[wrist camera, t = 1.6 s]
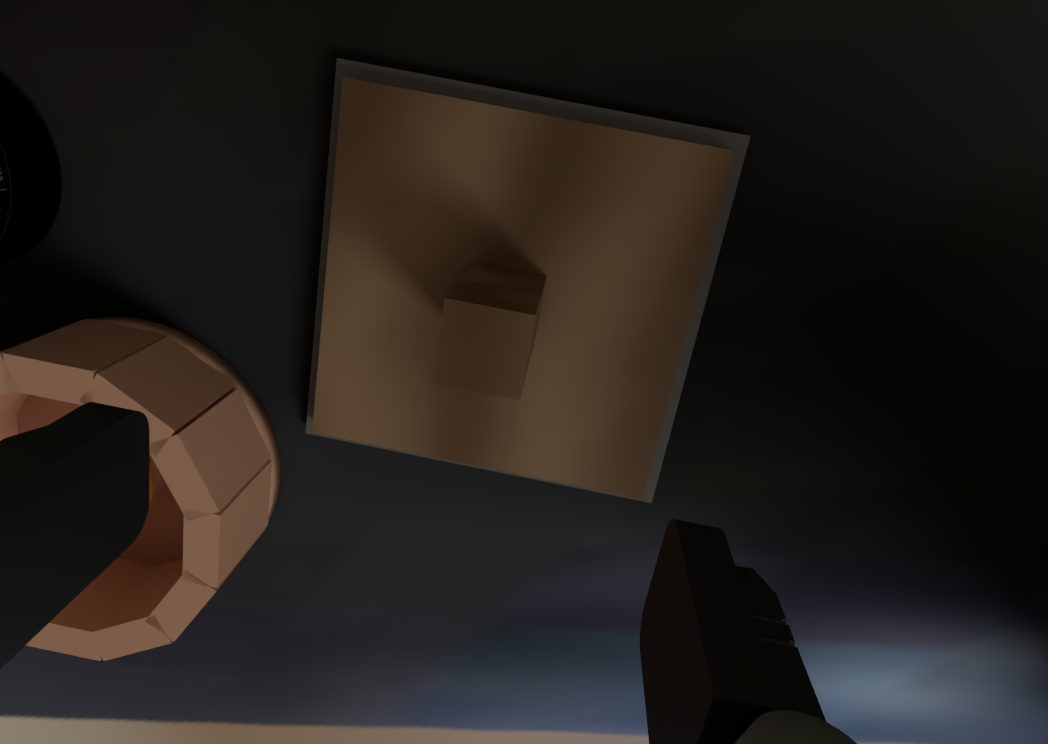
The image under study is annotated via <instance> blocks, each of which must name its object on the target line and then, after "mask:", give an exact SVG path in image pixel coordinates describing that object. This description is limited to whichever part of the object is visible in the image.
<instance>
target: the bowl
mask: <svg viewBox="0 0 1048 744" xmlns="http://www.w3.org/2000/svg"><path fill="white" fill-rule="evenodd" d="M89 402H95V403H100V404H105V405H110V406H115V407H120V408H125V409H130V410H135V411H140V412H142V413H144V414H145V415H146V417H147V419H148V422H149V431H150V438H149V462H150V464H151V467H152V469H153V473H154V478H155V488H154V494H153V498H152V500H151V503H150V505H149V509H148V514H147V518H146V521H145V523H144V526H143V528H142V530H141V532H140V534H139V535H138V537H137V538H136V540H135V541H134V542H133V543H132V544H131V545H130V546H129V547H128V548H127V549H126V550H125V551H124V552H123V553H122V554H121V555H120V556H119V557H118V558H117V559H116V560H115V561H114V562H112V563H111V564H110V565H109V566H108V567H107V568H106V569H105V570H104V571H103V572H102V573H101V574H100V575H99V576H98V577H97V578H96V579H95V580H94V581H92V582H91V583H90V584H89V585H88V586H87V587H86V588H85V589H84V590H83V591H82V592H81V593H80V594H79V595H78V596H77V597H76V598H75V599H74V600H72V601H71V602H70V603H69V604H68V605H67V606H66V607H65V608H64V609H63V610H62V611H61V612H60V613H59V614H58V615H57V616H56V617H55V618H54V619H52V620H51V621H50V622H49V623H48V624H47V625H46V626H45V627H44V628H43V629H42V630H41V631H40V632H39V633H38V634H37V635H36V636H35V637H34V638H33V639H31V640H30V641H29V642H28V643H27V644H26V645H27V646H31V647H36V648H41V649H46V650H50V651H55V652H60V653H65V654H69V655H74V656H79V657H84V658H88V659H93V660H98V661H101V660H102V659H103V660H104V661H106V660H110V659H113V658H117V657H121V656H125V655H128V654H132V653H136V652H140V651H144V650H147V649H151V648H155V647H159V646H162V645H166V644H170V643H172V642H173V641H175V640H176V639H177V638H178V636H179V635H180V634H181V633H182V632H183V630H184V629H185V628H186V627H187V626H188V624H189V623H190V622H191V621H192V620H193V619H194V617H195V616H196V615H197V614H198V613H199V611H200V610H201V609H202V608H203V607H204V605H205V604H206V603H207V602H208V601H209V599H210V598H211V597H212V596H213V595H214V593H215V592H216V591H217V590H218V589H219V587H220V586H221V585H222V584H223V582H224V581H225V580H226V578H227V577H228V576H229V575H230V573H231V572H232V571H233V570H234V568H235V567H236V566H237V565H238V563H239V562H240V561H241V560H242V558H243V557H244V556H245V554H246V553H247V552H248V551H249V549H250V548H251V547H252V546H253V544H254V543H255V542H256V541H257V539H258V538H259V537H260V536H261V534H262V533H263V532H264V531H265V529H266V527H267V525H268V522H269V520H270V518H271V516H272V514H273V512H274V508H275V505H276V502H277V499H278V494H279V488H280V481H281V474H280V457H279V450H278V445H277V442H276V438H275V434H274V431H273V428H272V426H271V423H270V421H269V419H268V416H267V414H266V412H265V410H264V408H263V407H262V405H261V403H260V401H259V400H258V398H257V396H256V395H255V393H254V392H253V391H252V389H251V388H250V387H249V385H248V384H247V383H246V381H245V380H244V379H243V378H242V377H241V376H240V375H239V374H238V373H237V371H236V370H235V369H234V368H233V367H232V366H231V365H230V364H229V363H227V362H226V361H225V360H224V359H223V358H222V357H220V356H219V355H218V354H217V353H216V352H214V351H213V350H211V349H210V348H209V347H207V346H206V345H204V344H203V343H201V342H200V341H198V340H196V339H194V338H193V337H191V336H189V335H187V334H185V333H183V332H181V331H179V330H176V329H174V328H171V327H169V326H166V325H164V324H160V323H156V322H153V321H149V320H145V319H139V318H132V317H122V316H105V317H98V318H91V319H86V320H85V319H84V320H81V321H78V322H75V323H72V324H69V325H67V326H64V327H62V328H59V329H57V330H54V331H52V332H49V333H46V334H44V335H41V336H38V337H36V338H33V339H30V340H28V341H25V342H22V343H20V344H17V345H15V346H12V347H9V348H7V349H4V350H2V351H0V441H1V440H3V439H4V438H7V437H10V436H13V435H17V434H20V433H23V432H27V431H30V430H33V429H37V428H40V427H43V426H47V425H49V424H51V423H52V422H54V421H56V420H58V419H59V418H61V417H63V416H64V415H66V414H68V413H70V412H71V411H73V410H75V409H76V408H78V407H80V406H82V405H83V404H86V403H89Z"/></svg>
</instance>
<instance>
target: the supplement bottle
mask: <svg viewBox="0 0 1048 744" xmlns="http://www.w3.org/2000/svg"><path fill="white" fill-rule="evenodd" d="M61 190H62V181H61V170H60V164H59V160H58V156H57V153H56V150H55V147H54V144H53V142H52V139H51V137H50V135H49V133H48V131H47V129H46V127H45V125H44V124H43V122H42V120H41V119H40V117H39V116H38V114H37V113H36V112H35V111H34V109H33V108H32V107H31V106H30V104H29V103H28V102H27V101H26V100H25V99H24V98H23V97H22V96H21V95H20V94H19V93H18V92H17V91H16V90H15V89H14V88H12V87H11V86H10V85H9V84H7V83H6V82H5V81H3V80H2V79H0V263H4V262H7V261H10V260H13V259H15V258H18V257H20V256H22V255H24V254H25V253H27V252H29V251H30V250H31V249H33V248H34V247H35V246H36V245H37V244H38V243H40V242H41V241H42V239H43V238H44V237H45V236H46V234H47V233H48V231H49V230H50V228H51V227H52V225H53V222H54V220H55V218H56V215H57V212H58V209H59V205H60V200H61Z"/></svg>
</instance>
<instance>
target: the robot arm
mask: <svg viewBox="0 0 1048 744" xmlns="http://www.w3.org/2000/svg"><path fill="white" fill-rule="evenodd" d="M149 438H150V431H149V422H148V419H147V417H146V415H145V414H144V413H142V412H140V411H135V410H130V409H125V408H120V407H115V406H110V405H105V404H100V403H95V402H89V403H86V404H83V405H82V406H80V407H78V408H76V409H75V410H73V411H71V412H70V413H68V414H66V415H64V416H63V417H61V418H59V419H58V420H56V421H54V422H52V423H51V424H49V425H47V426H43V427H40V428H37V429H33V430H30V431H27V432H23V433H20V434H17V435H13V436H10V437H7V438H4V439H3V440H1V441H0V669H1V668H2V667H3V666H4V665H5V664H6V663H7V662H8V661H9V660H10V659H11V658H13V657H14V656H15V655H16V654H17V653H18V652H19V651H20V650H21V649H22V648H23V647H24V646H25V645H26V644H27V643H28V642H29V641H30V640H31V639H33V638H34V637H35V636H36V635H37V634H38V633H39V632H40V631H41V630H42V629H43V628H44V627H45V626H46V625H47V624H48V623H49V622H50V621H51V620H52V619H54V618H55V617H56V616H57V615H58V614H59V613H60V612H61V611H62V610H63V609H64V608H65V607H66V606H67V605H68V604H69V603H70V602H71V601H72V600H74V599H75V598H76V597H77V596H78V595H79V594H80V593H81V592H82V591H83V590H84V589H85V588H86V587H87V586H88V585H89V584H90V583H91V582H92V581H94V580H95V579H96V578H97V577H98V576H99V575H100V574H101V573H102V572H103V571H104V570H105V569H106V568H107V567H108V566H109V565H110V564H111V563H112V562H114V561H115V560H116V559H117V558H118V557H119V556H120V555H121V554H122V553H123V552H124V551H125V550H126V549H127V548H128V547H129V546H130V545H131V544H132V543H133V542H134V541H135V540H136V538H137V537H138V535H139V534H140V532H141V530H142V528H143V526H144V523H145V521H146V518H147V514H148V509H149ZM794 644H795V641H794V638H793V636H792V633H791V630H790V628H789V625H786V618H785V615H784V613H783V610H782V607H781V605H780V602H779V600H778V597H777V595H776V593H775V592H774V591H773V590H772V589H771V588H770V587H769V586H768V584H767V583H766V582H765V581H764V580H763V579H762V578H761V577H760V576H759V575H758V574H757V572H756V571H755V570H754V569H750V568H745V567H740V566H735V564H734V561H733V558H732V555H731V552H730V549H729V546H728V543H727V540H726V537H725V534H724V531H723V530H722V529H720V528H716V527H711V526H706V525H701V524H696V523H691V522H686V521H681V520H675V519H672V520H671V521H670V522H669V524H668V526H667V529H666V532H665V535H664V538H663V542H662V545H661V549H660V552H659V556H658V559H657V563H656V566H655V570H654V573H653V577H652V580H651V584H650V587H649V591H648V594H647V598H646V601H645V605H644V610H643V615H642V621H641V629H640V653H641V663H642V674H643V684H644V694H645V704H646V714H647V725H648V735H649V744H857V743H856V742H855V741H854V740H852V739H851V738H850V737H849V736H847V735H846V734H845V733H843V732H842V731H840V730H839V729H837V728H836V727H834V726H832V725H831V724H829V723H827V722H826V720H825V717H824V715H823V712H822V710H821V707H820V705H819V702H818V699H817V697H816V694H815V692H814V689H813V687H812V684H811V682H810V679H809V676H808V674H807V671H806V669H805V666H804V664H803V661H802V659H801V656H800V653H799V651H798V648H797V647H794Z"/></svg>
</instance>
